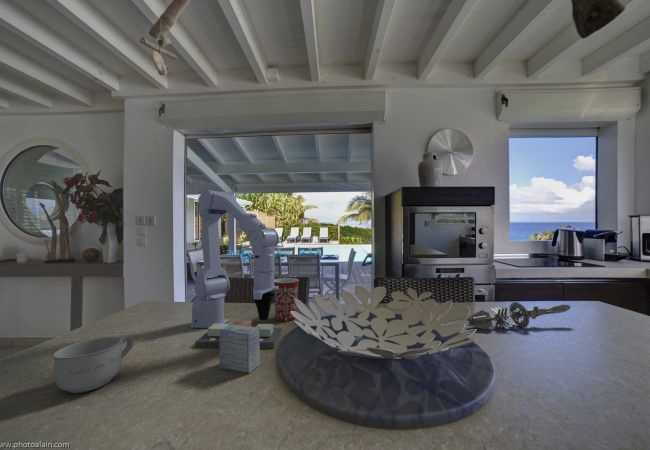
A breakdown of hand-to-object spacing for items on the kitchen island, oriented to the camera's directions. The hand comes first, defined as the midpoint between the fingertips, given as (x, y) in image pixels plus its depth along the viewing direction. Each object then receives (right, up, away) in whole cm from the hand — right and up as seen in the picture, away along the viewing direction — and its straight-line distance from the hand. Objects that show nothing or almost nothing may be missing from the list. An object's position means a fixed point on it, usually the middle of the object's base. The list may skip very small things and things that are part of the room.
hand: (263, 319), depth 81 cm
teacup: (-29, -6, -22) cm, 37 cm away
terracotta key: (-6, -3, 0) cm, 7 cm away
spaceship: (+79, -6, +10) cm, 80 cm away
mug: (+3, -7, +22) cm, 23 cm away
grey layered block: (-2, -6, -16) cm, 17 cm away
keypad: (-6, -6, 0) cm, 9 cm away
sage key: (0, -4, 0) cm, 4 cm away
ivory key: (-13, -4, 0) cm, 14 cm away
